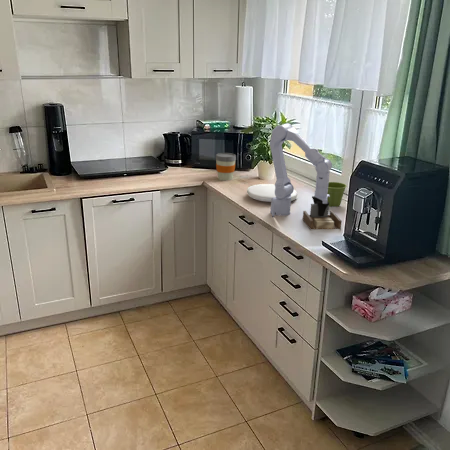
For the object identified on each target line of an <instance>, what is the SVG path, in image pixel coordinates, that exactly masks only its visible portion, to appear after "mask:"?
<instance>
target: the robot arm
mask: <svg viewBox="0 0 450 450" xmlns="http://www.w3.org/2000/svg"><path fill="white" fill-rule="evenodd" d="M285 141H289V142H290V141H291V142H294V144H295V145H296V146H298V147H299V148H300V149H301V150H302V151H303V152H304V157H305V158H306V159H307V160H308V161H309V162H310V163H311V164H312V165H313V166H314V169H315V171H316V179H315V190H314V193H313V194H314V196H311V198H312V200H313V204H317V205H318V214H319V216H324V213H325V210H326V208H327V206H328V205H329V202H328V200H327V197H330V195H329V194H327V193H328V184H329V182H330V172H331V170H332V168H333V163H332V162H331V160H330V159H329V158H327V157H325V156H323V154H321V153H320V152H319V148H315V147H311V146H310V145H309V144H308V142H307V141H306V140H305V138H303V137H302V136H301V135H300V133H299V132H298V131H297V129H296V127H293V125H292V124H291V123H288V122H287V123H283V124H280V125H276V126H274V129H273V130H272V131H271V138H270V142H269V147H270V152H271V156H272V162H273V168H274V172H275V173H274V174H275V179H276V180H275V183H274V184H275V196H276V197H275V198H272V199H271V202H270V211H269V212H270V215H271V216H272V218H276V217H275V216H289V215H290V214H291V206H292V205H291V203H292V201H291V194H292V193H293V191H294V190H295V187H294V185H293V184H292V182H291V179H290V178H289V177H288V172H287V167H286V161H285V156H284V150H283V144H284V142H285Z"/></svg>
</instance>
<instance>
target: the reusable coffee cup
mask: <svg viewBox="0 0 450 450" xmlns="http://www.w3.org/2000/svg"><path fill="white" fill-rule="evenodd" d="M236 156H237V155H236V154H234V153H231V152H220V153H219V152H218V153H217V154H215V161H216V163H215V167H216V172H217V179H218V180H219V181H231V180H233V177H234V173H235V169H236V160H237V157H236Z"/></svg>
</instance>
